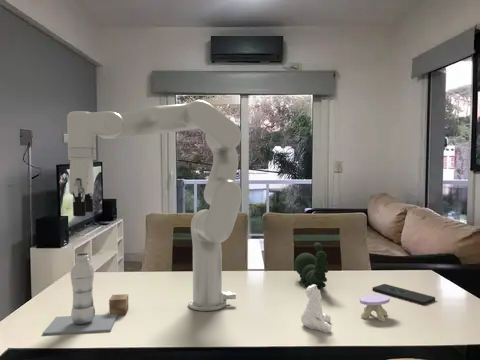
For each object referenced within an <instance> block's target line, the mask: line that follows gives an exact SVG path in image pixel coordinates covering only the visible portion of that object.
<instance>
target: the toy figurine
mask: <svg viewBox="0 0 480 360" xmlns="http://www.w3.org/2000/svg"><path fill="white" fill-rule="evenodd" d="M313 247H314V249H315V250H316V251H317V252H316V254H315V255H314V254H312V253H309V252H302V253H300V254H299V255H297V256H296V258H295V260H294V263H293V264H294V268H295V271H296V272H297V274H298V275H299V278H300V282H301V283H303V284H305V285H304V286H305V287H306V288H307V287H308V286H311V285H312V284H314V285H315V284H316V285H317V287H319V288H321V289H323V288H326V286H327V283H326V282H327V281H328V278H327V277H326V274H327V273H329V270H328V268H327V267H326V265H329V262H328V260H327V258H328V254H326V252H325V251H323V245H322V244H321V243H320V242H315V243H313Z"/></svg>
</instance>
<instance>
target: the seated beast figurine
mask: <svg viewBox="0 0 480 360" xmlns="http://www.w3.org/2000/svg"><path fill="white" fill-rule="evenodd" d="M305 294H306V297H307V298H308V301H307V303H306V307H305V309H303V311H302V313H301V316H300V318H301V319H300V321H301V323H302V325H304V326H305V327H306V328H307V329H308V328H309V330H315V331H320V332H323V333H327V334H328V333H331V332H332V325H331V324H330V323H331V319H332V317H331V315H329V314H327V313H324V312H323V306H322V304H321V300H322V298H323V297H322V293H321V290H320V289H318V286H317V285H316V284H315V285H314V284H312V285H311V286H308V287H306V289H305Z"/></svg>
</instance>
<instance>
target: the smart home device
mask: <svg viewBox="0 0 480 360" xmlns="http://www.w3.org/2000/svg"><path fill="white" fill-rule="evenodd" d="M372 292H375V293H379V294H381V295H385V296H388V297H393V298H396V299H398V300H399V299H400V300H402V301H406V302H410V303H413V302H414V304H417V303H418V305H420V304H421V306H426V305H428V303H429V304H432V303H434V302H436V297H435V296H432V295H428V294H424V293H422V292H421V293H420V292H416V291H414V290H413V291H412V290H409V289H407V288H401V287H398V286H395V285H391V284H386V283H383V284H379V285H377V286H376V285H375V286H373V287H372Z"/></svg>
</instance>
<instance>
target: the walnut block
mask: <svg viewBox="0 0 480 360" xmlns="http://www.w3.org/2000/svg"><path fill="white" fill-rule="evenodd" d="M108 307H109V308H108V309H109V310H108V311H109V313H108V314H118V316H126V315H127V314H128V311H129V293H127V294H125V293H123V294H122V293H121V294H111V296H110V298H109V301H108Z"/></svg>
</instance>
